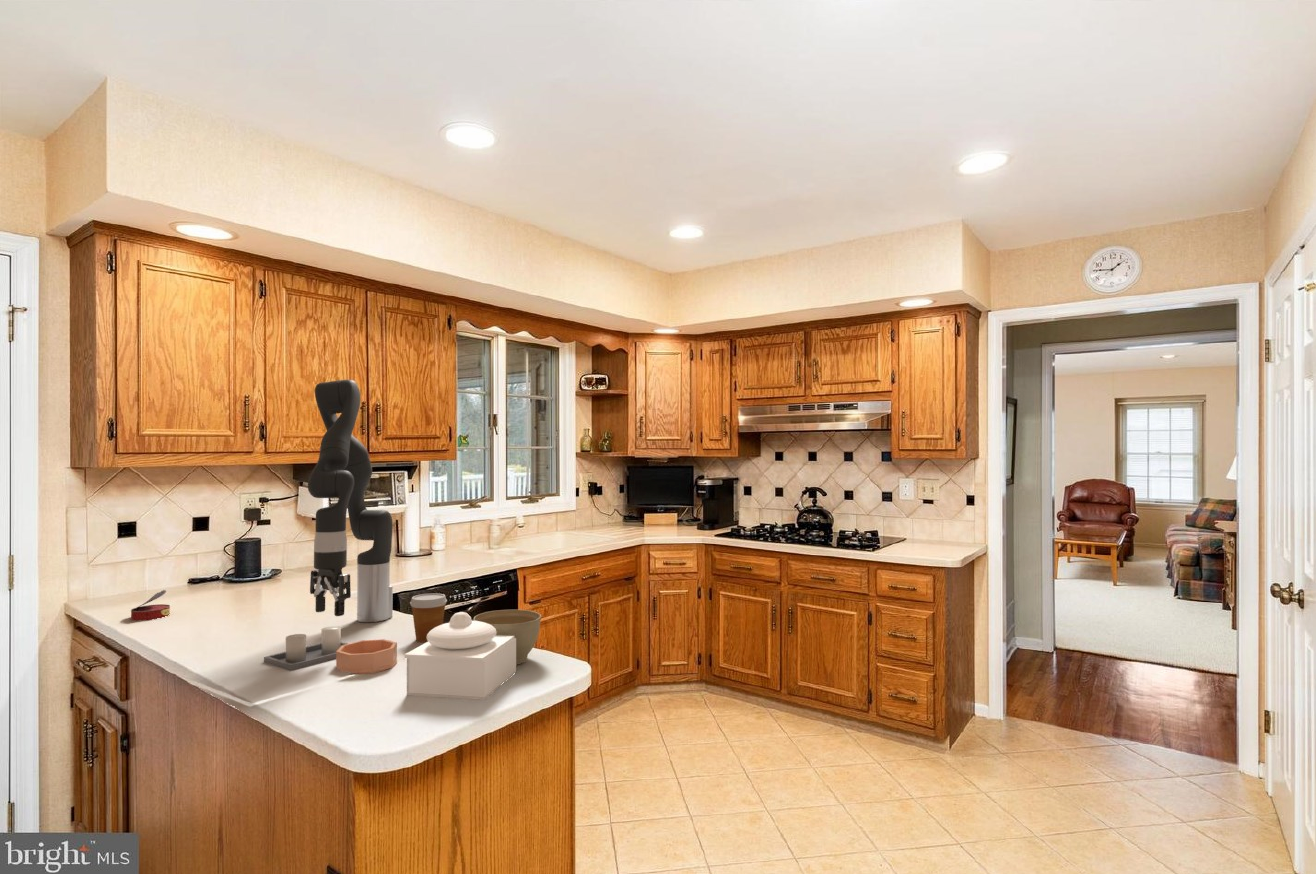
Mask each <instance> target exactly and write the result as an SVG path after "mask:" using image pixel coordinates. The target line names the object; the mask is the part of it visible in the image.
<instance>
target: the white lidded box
mask: <svg viewBox="0 0 1316 874" xmlns="http://www.w3.org/2000/svg"><path fill="white" fill-rule="evenodd" d="M496 633H497V632H496V629H495V628H494V627H493V626H492V625H490V624H488V623H484V622H480V621H474V620H473V619H472V617H471V616H470V615H469V614H468V613H467V612H463V611H459V612H456V613H454V614H452V616H451V617H450V620H449V621H448V622H445V623H443V624H442V625H440V626H437V627H435V628H434V629H432V630H431V631H430V632H429V633H428V634H427V641H428V642H426V643H423V644H421V645H419V646H418V647H416V648H413V649H412V650H410V651H408V652H406V653H404V659H406V695H407V696H416V697H417V696H418V697H431V698H432V697H433V698H434V697H435V698H437V697H438V698H448V699H449V698H450V699H467V700H468V699H469V700H484V701H485V700H486V699H487V698H489V695H490V694H491V695H492V694H493V693H495V692H496V691H497V690H498V689H499V688H500V687H501V686H502V685H501V684H502V683H503V682H505V681H506V680H507V679H509V678H510V677H511V676H512V675H513V674H514V673H515V672H516V673H517V665H516V638H514V636H503V635H496ZM514 675H515V674H514ZM514 675H513V676H514ZM513 676H512V677H513ZM512 677H511V678H512ZM511 678H510V679H511ZM510 679H509V680H510ZM507 681H508V680H507ZM507 681H506V682H507ZM506 682H505V683H506ZM500 685H501V686H500ZM499 686H500V687H499ZM498 687H499V688H498ZM497 688H498V689H497ZM496 689H497V690H496ZM495 690H496V691H495ZM491 695H490V696H491Z"/></svg>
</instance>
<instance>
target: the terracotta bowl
mask: <svg viewBox="0 0 1316 874" xmlns="http://www.w3.org/2000/svg"><path fill="white" fill-rule="evenodd" d="M397 659H398V642H397V641H393V640H389V639H385V638H383V639H381V638H380V639H366V640H365V639H364V640H363V639H362V640H359V641H354V642H351V643H348V644H346V645H342V646H341V647H340V648H339V649H338V650H337V651H336V659H335V660H336V661H335V665H336V666H335V667H336V669H337V670H339V671H341V672H346V673H347V672H348V673H349V674H348V675H349V676H350V675H351V676H352V675H354V676H355V675H356V676H357V675H368V674H375V673H379V672H383V671H387V670H389V669H392V668H394V667H395V666H396V665H397V664H398V663H397V661H398V660H397Z"/></svg>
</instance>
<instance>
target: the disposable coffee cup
mask: <svg viewBox="0 0 1316 874" xmlns="http://www.w3.org/2000/svg"><path fill="white" fill-rule="evenodd" d="M447 602H448V599H447V598H446V595H445V594H444V593H443V594H442V593H422V594H418V595H417V594H416V595H413V596H412V597H411V600H410V602H409V604H410V607H411V610H412V618H413V626H414V634H415V641H416V642H417V643H423V644H425V643H426V642H428V641H427V634H428V633H429V632H430V631H431V630H432V629H434V628H435V627H437V626H440V625H442V624H444V617H445V611H446V610H445V609H446V604H447Z"/></svg>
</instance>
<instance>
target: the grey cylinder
mask: <svg viewBox="0 0 1316 874" xmlns="http://www.w3.org/2000/svg"><path fill="white" fill-rule="evenodd" d="M306 647H307V634H305V633H295V634H290V635H287V636H286V637H285V652H286V662H288V663H291V664H293V663H297V662H301V661H305V660H306Z"/></svg>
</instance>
